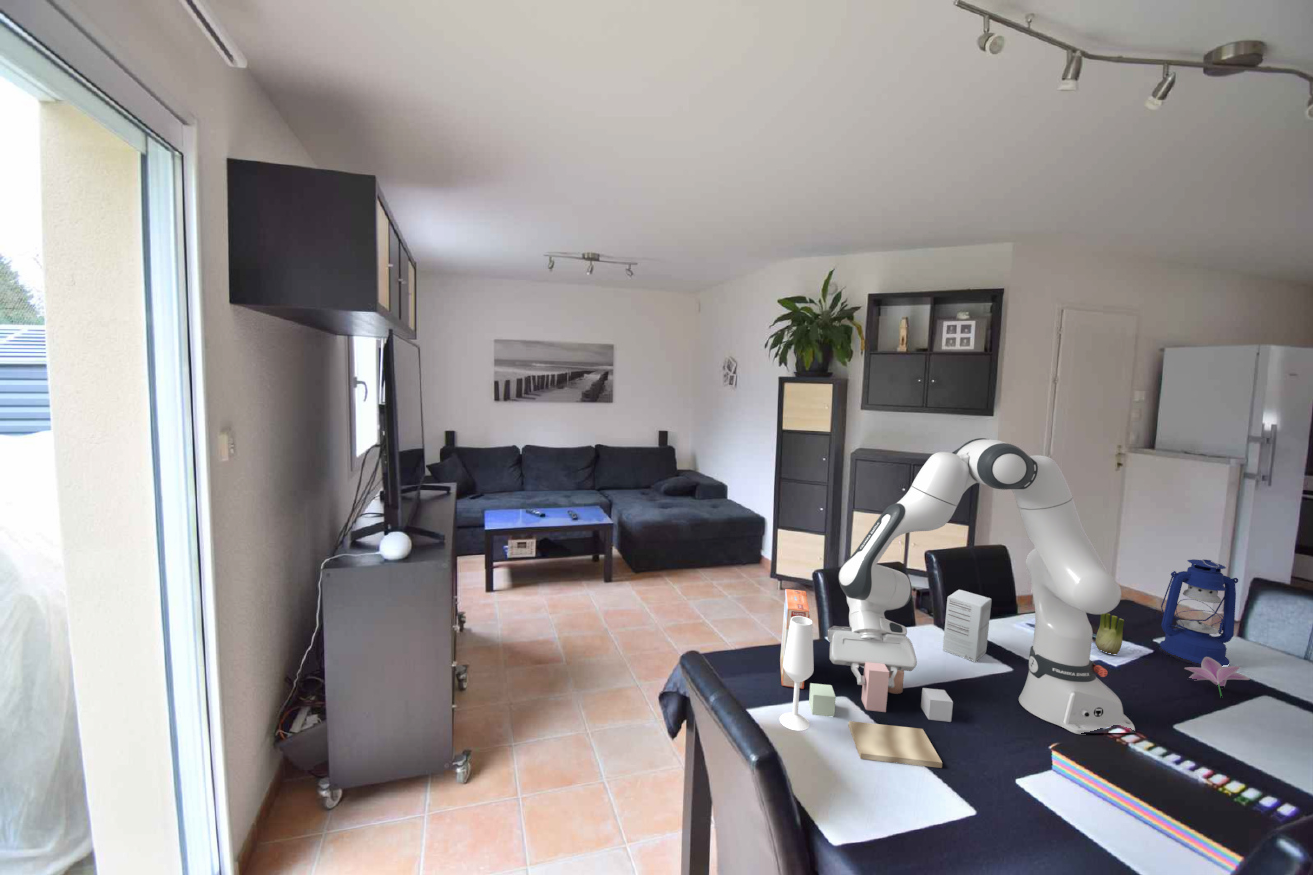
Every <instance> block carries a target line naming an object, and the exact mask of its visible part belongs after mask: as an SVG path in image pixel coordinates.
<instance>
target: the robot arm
mask: <svg viewBox="0 0 1313 875" xmlns="http://www.w3.org/2000/svg"><path fill="white" fill-rule="evenodd" d="M975 484H981V485H983V486H988V487H990V488H992V489H997V490H1003V491H1004V490H1005V491H1006V490H1007V491H1008V490H1010V491H1012V493H1013V494H1014V495H1013V496H1014V498H1015V499H1014V500H1015V502H1016V505H1017V508H1018V511H1019V514H1020V516H1021V521H1022V523H1023V526H1024V529H1025V533H1026V536H1027V537H1028V540H1030V542H1031V543H1032V544H1033V546H1034V548H1032V550H1031V551H1030V552H1029V553H1028V554H1027V556H1026V559H1025V568H1026V571H1027V573H1028V575H1029V577H1030V578H1029V579H1030V582H1031V583H1030V584H1031V589H1032V596H1033V597H1032V598H1033V603H1034V604H1033V605H1034V610H1035V611H1034V612H1035V613H1034V614H1035V615H1034V616H1035V622H1034V632H1033V642H1032V645H1031V646H1030V649H1029V656H1028V674H1027V677H1026V681H1025V684H1024V687H1023V689H1022V691H1021V693H1020V695H1019V697H1018V701H1019V704H1020V705H1021V706H1022V707H1023V708H1024V709H1025V710H1026V711H1028V712H1029V713H1030V714H1032V715H1034V716H1036V717H1037V718H1040V719H1041V720H1043V721H1046V722H1048V723H1051V724H1054V725H1057V726H1059V727H1062V728H1064V729H1065V730H1067V731H1069V732H1071V733H1073V734H1076V735H1082V734H1081V733H1084V732H1090V731H1094V730H1097V729H1100V728H1106V727H1110V726H1113V725H1121V726H1124V727H1127V728H1131V729H1132V730H1134V731H1135V732H1136V728H1135V725H1134V723H1133V721H1131V719H1129V717H1127V715H1125V714H1124V707H1123V704H1122V701H1121V699H1120V698H1119V696H1118V695H1117V694H1116V693H1115V692H1114V691H1113V690H1112V689H1111V688H1109V686H1107V685H1106V684H1105V683H1104V682H1102V681H1101V680H1100V679H1099V678H1098V677H1097V676H1096V674H1097V675H1098V676H1099V677H1101V678H1105V677H1106V676H1107V675H1108V670H1107V669H1106V668H1105V667H1103V666H1102V665H1099V664H1097V665H1096V663H1095V662H1094V661H1093V660H1091V651H1092V644H1093V635H1094V634H1093V633H1094V632H1093V631H1094V630H1093V627H1092V625H1091V623H1090V620H1089V618H1088V615H1087V614H1091V615H1101V614H1104V613H1106V614H1108V613H1110V612H1111V611H1112V610H1114V609H1116V608H1117V607H1118V605H1119V604H1120V601H1121V598H1122V589H1121V586H1120V583H1118V582H1117V580H1116V579H1115V577H1114V576H1113V575H1112V574H1111V572H1109V570H1108V569H1107V568H1106V566H1105V564H1104V563H1103V562H1104V561H1102V558H1101V557H1100V555H1099V553H1098V551H1097V550H1096V548H1095V547H1094V545H1093V543H1092V541H1091V540H1090V538H1089V536H1088V535H1087V533H1086V530H1085V527H1084V526H1083V523H1082V521H1081V518H1080V514H1079V512H1078V509H1077V506H1076V504H1075V500H1074V497H1073V494H1072V491H1071V488H1070V487H1069V484H1068V482H1067V479H1066V477H1065V475H1064V474H1063V472H1062V470H1061V468H1060V467H1059V465H1058V463H1057V462H1056V461H1055V459H1053V458H1051V457H1049V456H1046V455H1040V454H1038V455H1037V454H1035V455H1029V454H1028V453H1026V452H1025V451H1024V450H1023V449H1021V448H1020V447H1018V446H1016V445H1015V444H1011V443H1007V442H1006V441H1003V440H999V439H990V438H983V437H981V438H979V437H978V438H975V439H971V440H969V441H967V442H965V443H964V444H963V445H961V446H960V447H958V448H957V449H955V450H954V451H952V452H948V451H938V452H935V453H933V454H932V455H930V457H929V458H928V459H927V460H926V462H925V463H924V465H922V467H921V469H920V470H919V472H918V473H917V474H916V476H915V478H914V480H913V482H912V484H911V485H910V487H909V489H908V491H907V492H906V493H905V494H904V496H903V497H901V498H900V500H898V501H897V502H896V503H892V504H890V505H888V506H887V507H886V508H885V509H884V510H883V512H882V513H881V514H880V516H878V518H877V520H876V521H875V522H874V524H873V525H872V526H871V528H870V530H869V531H868V532H867V534H866V535H865V537H864V538H863V540H862V541H861V543H860V544H859V545H858V547H857V548H856V549H855V551H854V552H853V553H852V554H851V556H849V557H848V558H847V560H845V561H844V563H843V564H842V565H841V567H840V568H839V571H838V576H837V580H838V582H839V585H840V586H839V587H840V588H841V590H842V592H843V593H844V594H845V596H846V603H847V605H848V607H849V612H848V622H849V626H838V625H832V627H829V628H828V629H827V632H826V633H827V634H826V635H827V636H826V637H827V639H828V641H829V660H830V661H831V663H832V664H833V665H840V666H850V670H851V672H852V673H853V675H854V676H855V678H856V682H857V685H858V686H863V685H864V684H865V680H864V679H865V676H863V675H861V673H860V671H859V669H860V668H859V667H862V668H864V663H865V662H870V663H880V664H885V666H886V667H887V669H888V671H889V674H891V676H890V678H889V681H888V688H894V677H895V675H896V673H897V670H903V671H904V672H905V671H906V672H911V671H913V670H914V669H915V668H916V667H917V664H918V661H917V660H918V659H917V656H916V652H915V649H914V645H913V643H912V641H911V640H910V638H909V637H907V633H908V630H907V627H906V626H905V625H903V624H900V623H897V622H894V621H892V620H889V619H888V618H886V616H885V612H886V611H893V610H898V609H901V608H903V607H905V606H906V605H907V604H908V603H909V602H910V600H911V597H912V593H913V586H912V582H911V580H910V578H909V576H908V575H907V574H906V573H904V572H902V571H899V570H897V569H893V568H891V567H888V566H884V565H881V564H878V563H879V561H880V560H881V558H882V556H883V555H884V554H885V552H886V551H887V549H889V547H890V546H891V544H892V542H893V541H894V540H895V539H896V538H898V537H900V536H902V535H904V534H907V533H908V534H909V533H914V532H915V533H916V532H929V531H930V532H931V531H934V530H938V529H940V528H942V527H944V526H945V525H947V523H948V522H949V521H950V520H951V519H952V518H953V517H952V516H953V515H954V513H955V511H956V509H957V507H958V506H959V504H960V501H961V499H962V497H963V494H964V493H965V492H966V491H967V490H968V489H969V488H970V487H972V486H973V485H975Z"/></svg>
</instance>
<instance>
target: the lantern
mask: <svg viewBox="0 0 1313 875" xmlns="http://www.w3.org/2000/svg"><path fill="white" fill-rule="evenodd" d="M1187 562H1189V564H1191V566H1189V567H1187V570H1186V571H1185V570H1183V571H1179V572H1177V571H1176V570H1173V571H1172V572H1171V573H1170V576H1171V577H1170V580H1169V583H1168V586H1167V589H1166V592H1165V595H1164V596H1163V600H1162V603H1161V605H1160V607H1161V612H1162V616H1163V617H1162V621H1161V624H1160V626H1161V629H1162V631H1163V632H1164V633H1165V636H1164V640H1161V641H1160V642H1159V646H1161V648H1162V649H1163V650H1165V651H1166V652H1168V653H1170V654H1172V655H1176V656H1178V657H1181V658H1183V659H1187V660H1190V661H1192V662H1195V663H1199V664H1201V663H1202V660H1203V659H1204V658H1205V657H1210V658H1212V659H1214V660H1215V661H1217V662H1218V663H1219V664H1220V665H1221V666H1223V665H1228V664H1229V663H1230V662H1231V661H1230V659H1229V658H1228V657H1226V656H1227V655H1226V654H1227V647H1226V646H1227V645H1226V643H1228V642H1230V641H1231V640H1232V639H1233V637H1234V635H1235V633H1234V632H1235V620H1236V619H1235V618H1236V616H1235V615H1236V602H1237V601H1236V599H1237V598H1236V597H1237V590H1236V584H1238V583H1239V579H1238V578H1237V577H1233V578H1231V577H1229V576H1227V575H1224V574H1223V573H1222V570H1225V569H1227V567H1226V566H1225V565H1222V564H1220V563H1217V562H1215V561H1213V560H1210V559H1202V560H1201V559H1187ZM1183 583H1184V584H1186V585H1187V589H1184V590H1183V592H1182V595H1183V596H1184V597H1186V598H1183V599H1180V600H1179V598H1180V594H1181V589H1182V587H1183V586H1182V585H1183ZM1219 592H1224V594H1223V597H1222V599H1221V597H1220V596H1218V595H1219ZM1167 594H1168V595H1167ZM1166 598H1167V599H1166ZM1188 599H1190V600H1193V601H1197V602H1200V603H1202V604H1204V605H1206V606H1207V607H1209V609H1211V610H1212V611H1210V610H1208V612H1210V613H1213V614H1211V615H1210V616H1208V617H1207V618H1205V619H1190V620H1187V619H1180V617H1179V615H1178V614H1180V613H1183V612H1187V610H1184V611H1179V612H1178V610H1177V607H1178V605H1179V604H1180V602H1182V601H1185V600H1188ZM1165 600H1166V603H1165ZM1204 602H1205V603H1204ZM1164 603H1165V608H1164ZM1206 603H1210V604H1218V606H1217V608H1216V610H1214V609H1213V608H1212V607H1211V606H1209V605H1208V604H1206ZM1222 604H1223V614H1221V613H1219V612H1218V611H1219V609H1220V607H1221V605H1222ZM1163 608H1164V609H1163ZM1192 611H1194V612H1195V611H1196V612H1197V611H1199V612H1201V611H1202V612H1206V610H1205V609H1203V610H1202V609H1192V610H1191V609H1190V610H1189V612H1192ZM1215 615H1217V616H1218V617H1219V619H1220V621H1218V622H1215V623H1213V624H1211V625H1209V624H1206V623H1203V622H1206V621H1208V620H1210V619H1211V618H1212V617H1213V616H1215ZM1174 619H1175V620H1176V625H1174V624H1173V621H1174ZM1216 624H1219V629H1217V628H1215V627H1213V626H1214V625H1216ZM1173 627H1175V628H1173ZM1217 634H1219V635H1218V636H1214V635H1217ZM1229 665H1230V664H1229Z"/></svg>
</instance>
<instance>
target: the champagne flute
mask: <svg viewBox="0 0 1313 875" xmlns="http://www.w3.org/2000/svg"><path fill="white" fill-rule="evenodd" d="M813 628H814V626H813V620H812V619H811V618H810V617H809V618H806V617H802V616H794V617H792V618H791V620H790V626H789V632H788V638H787V644H786V650H785V656H784V662H783V667H784V670H785V672H786V673H787V675H788V676H789V677H790V678H791V679H792V680H793V681H795V684H794V687H793V700H792V712H785V713H783V714H781V715H780V716H779V722H780V724H782V725H783V727H785V728H787V729H789V730H792V731H798V732H799V731H802V732H803V731H806V730H807V729H809V728H810V721H809V720H808V718H806V717H805V716H804V715H802V714H799V700H800V689H801V688H800V682H803V681H804V682H805V681H806V680H808V679H809V678H810V677H811V676H812V675H813V674H814V668H815V667H814V666H815V665H814V663H815V662H814V638H813V637H814V630H813Z"/></svg>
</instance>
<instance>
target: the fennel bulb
mask: <svg viewBox="0 0 1313 875" xmlns="http://www.w3.org/2000/svg"><path fill="white" fill-rule="evenodd" d="M1125 621H1126V620H1125V619H1122V618H1118V616H1116V615H1111V614H1110V613H1104V614H1100V620H1099V628H1098V630H1097V632H1096V636H1095V646H1097V647H1096V648H1097V649H1098V650H1099V651H1100V650H1102V651H1104V652H1107V653H1111V654H1117V655H1118V653H1119V652H1120V651H1121V647H1122V644H1123V632H1124V624H1125Z"/></svg>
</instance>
